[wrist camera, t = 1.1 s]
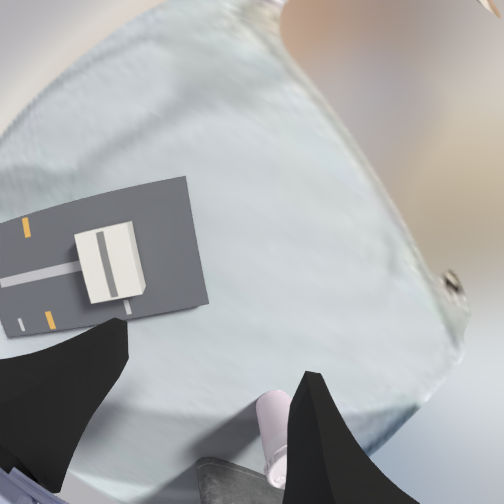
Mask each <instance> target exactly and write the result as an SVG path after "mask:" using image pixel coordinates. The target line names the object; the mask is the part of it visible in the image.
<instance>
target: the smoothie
mask: <svg viewBox="0 0 504 504" xmlns="http://www.w3.org/2000/svg"><path fill="white" fill-rule="evenodd" d="M291 401H292V399H291V398H290V397H289V395H288V394H287V393H285V392H284V391H280V390H273V391H269V392H267V393H265V394H263V395H262V396H261V397H260V398H259V399H258V400H257V402H256V406H255V407H256V413H257V419H258V424H259V429H260V434H261V440H262V445H263V450H264V456H265V460H266V463H265V467H264V473H265V476H266V477H267V479H268V482H269V483H270V484H271V485H272V486H273V487H275V488H278V489H285V483H286V472H287V423H288V416H289V409H290V403H291Z"/></svg>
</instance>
